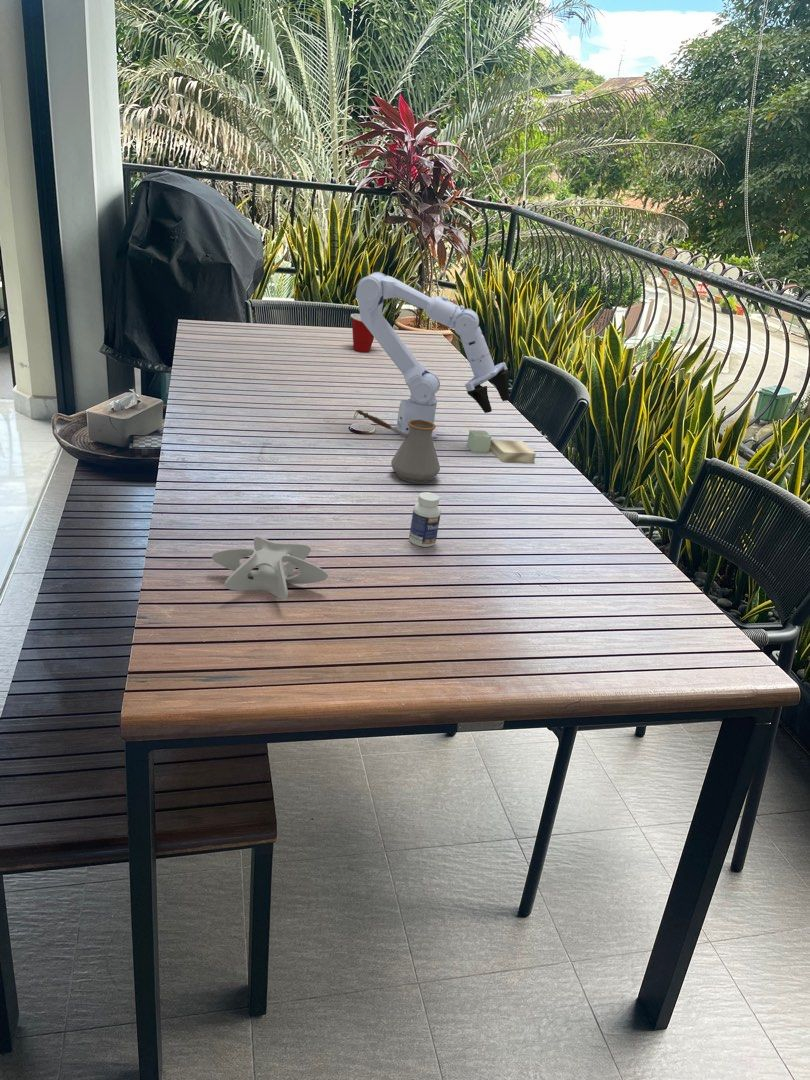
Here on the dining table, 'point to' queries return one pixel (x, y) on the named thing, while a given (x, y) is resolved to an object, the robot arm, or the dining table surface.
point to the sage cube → (479, 441)
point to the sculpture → (269, 567)
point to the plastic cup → (361, 335)
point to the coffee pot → (413, 451)
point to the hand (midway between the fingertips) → (497, 406)
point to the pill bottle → (425, 520)
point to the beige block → (512, 451)
